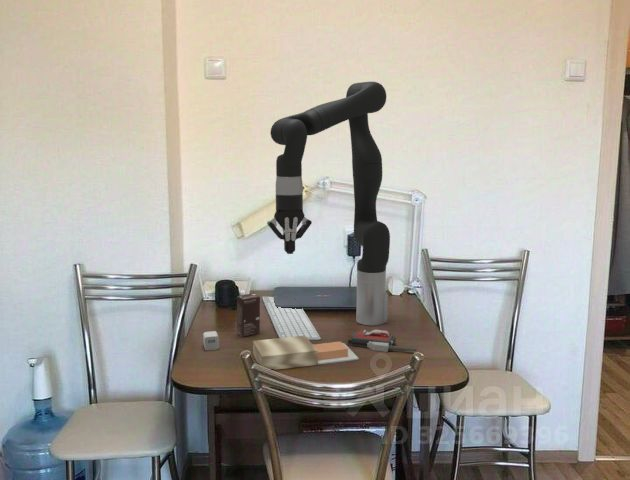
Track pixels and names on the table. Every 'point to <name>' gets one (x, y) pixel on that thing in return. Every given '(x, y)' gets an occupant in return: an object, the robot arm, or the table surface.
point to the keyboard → (290, 321)
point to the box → (248, 314)
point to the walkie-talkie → (376, 341)
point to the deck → (285, 352)
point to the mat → (350, 357)
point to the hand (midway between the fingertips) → (289, 253)
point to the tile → (331, 350)
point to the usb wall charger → (210, 340)
